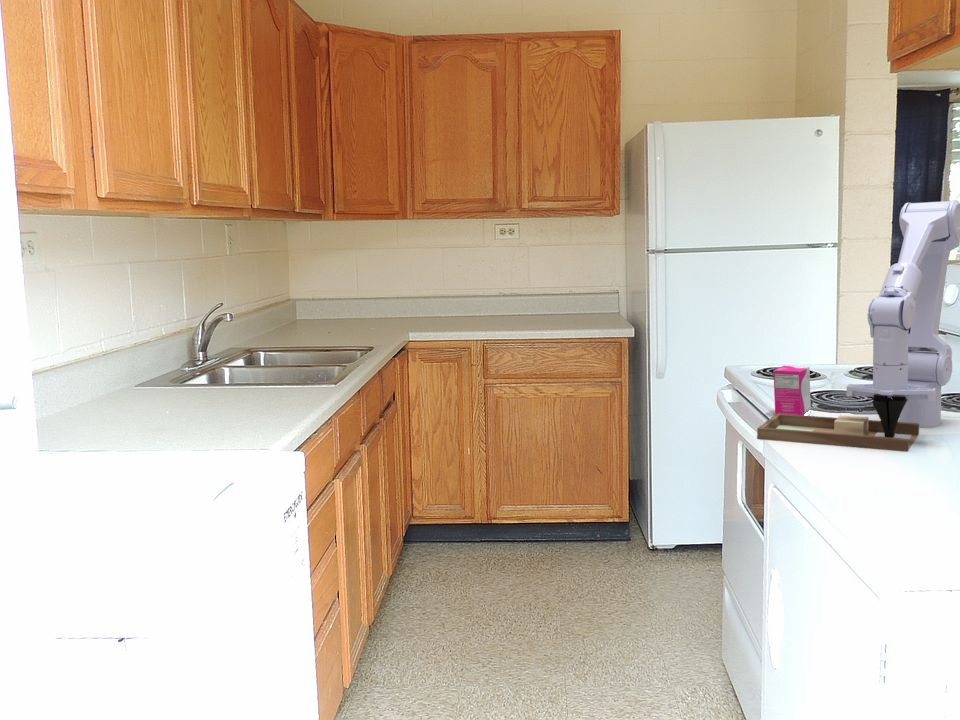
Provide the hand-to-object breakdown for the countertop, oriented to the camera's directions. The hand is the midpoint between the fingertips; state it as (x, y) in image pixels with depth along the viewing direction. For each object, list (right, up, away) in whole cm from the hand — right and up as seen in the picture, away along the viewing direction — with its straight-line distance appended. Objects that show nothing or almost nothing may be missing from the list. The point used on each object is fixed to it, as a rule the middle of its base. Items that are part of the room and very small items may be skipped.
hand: (889, 436), depth 162 cm
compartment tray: (-7, -2, +5) cm, 9 cm away
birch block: (-5, 0, +4) cm, 7 cm away
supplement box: (-9, +1, +24) cm, 26 cm away
